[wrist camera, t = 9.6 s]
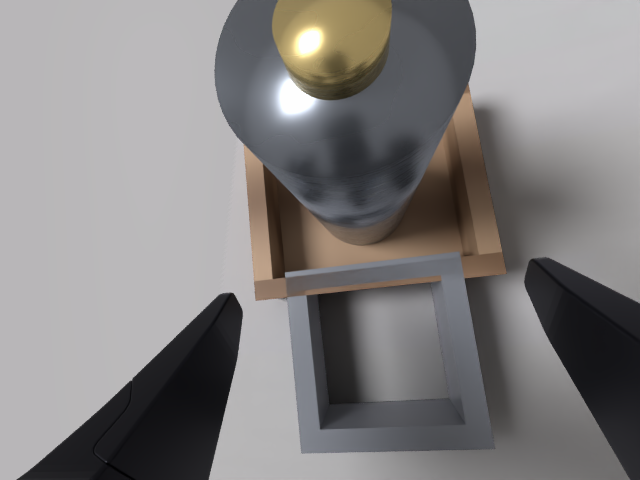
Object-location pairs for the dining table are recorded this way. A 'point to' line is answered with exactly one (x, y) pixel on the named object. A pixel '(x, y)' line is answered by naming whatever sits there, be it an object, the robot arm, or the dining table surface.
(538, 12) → the dining table surface
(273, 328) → the dining table surface
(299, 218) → the wooden tray
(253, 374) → the dining table surface
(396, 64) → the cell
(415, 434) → the tray
